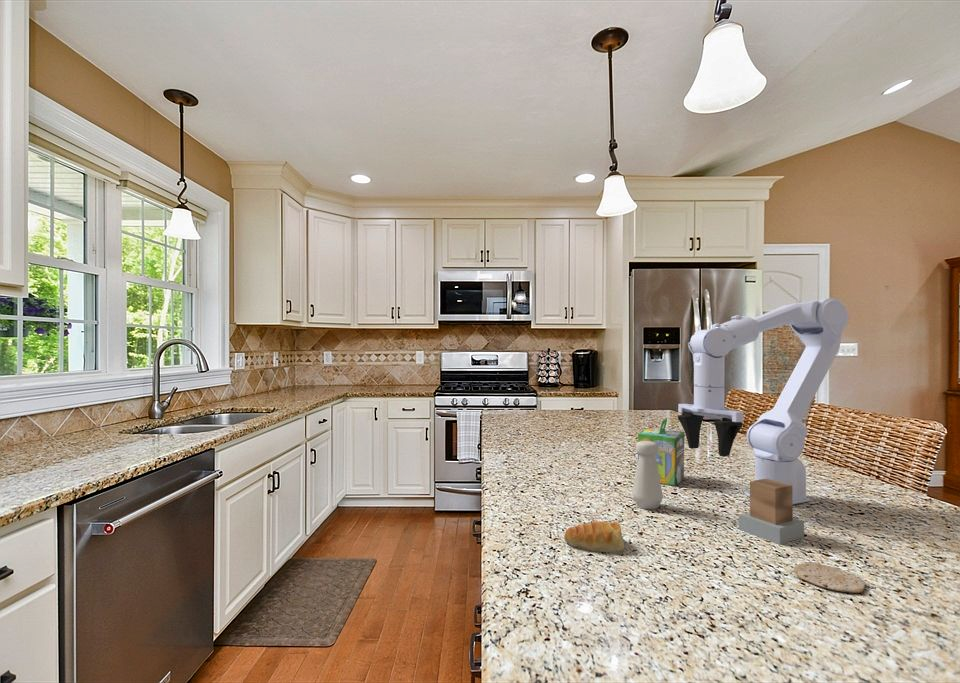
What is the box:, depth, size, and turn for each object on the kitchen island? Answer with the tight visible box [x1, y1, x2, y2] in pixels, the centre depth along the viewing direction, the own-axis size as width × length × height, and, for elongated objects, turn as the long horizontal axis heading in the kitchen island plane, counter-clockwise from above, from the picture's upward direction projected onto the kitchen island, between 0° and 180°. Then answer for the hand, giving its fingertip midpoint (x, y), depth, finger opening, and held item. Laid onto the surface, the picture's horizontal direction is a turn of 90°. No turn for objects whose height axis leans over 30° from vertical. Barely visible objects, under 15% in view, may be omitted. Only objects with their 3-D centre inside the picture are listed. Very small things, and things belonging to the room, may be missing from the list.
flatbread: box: [793, 562, 866, 594], centre depth 64 cm, size 8×8×1 cm
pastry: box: [563, 520, 625, 554], centre depth 76 cm, size 9×7×4 cm
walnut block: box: [749, 478, 794, 525], centre depth 80 cm, size 4×4×6 cm
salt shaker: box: [631, 441, 664, 510], centre depth 94 cm, size 6×6×13 cm
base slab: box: [738, 511, 805, 546], centre depth 80 cm, size 7×7×3 cm
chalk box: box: [637, 417, 686, 487], centre depth 113 cm, size 9×9×15 cm
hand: (708, 451), depth 96 cm, fingers open, 7 cm apart
